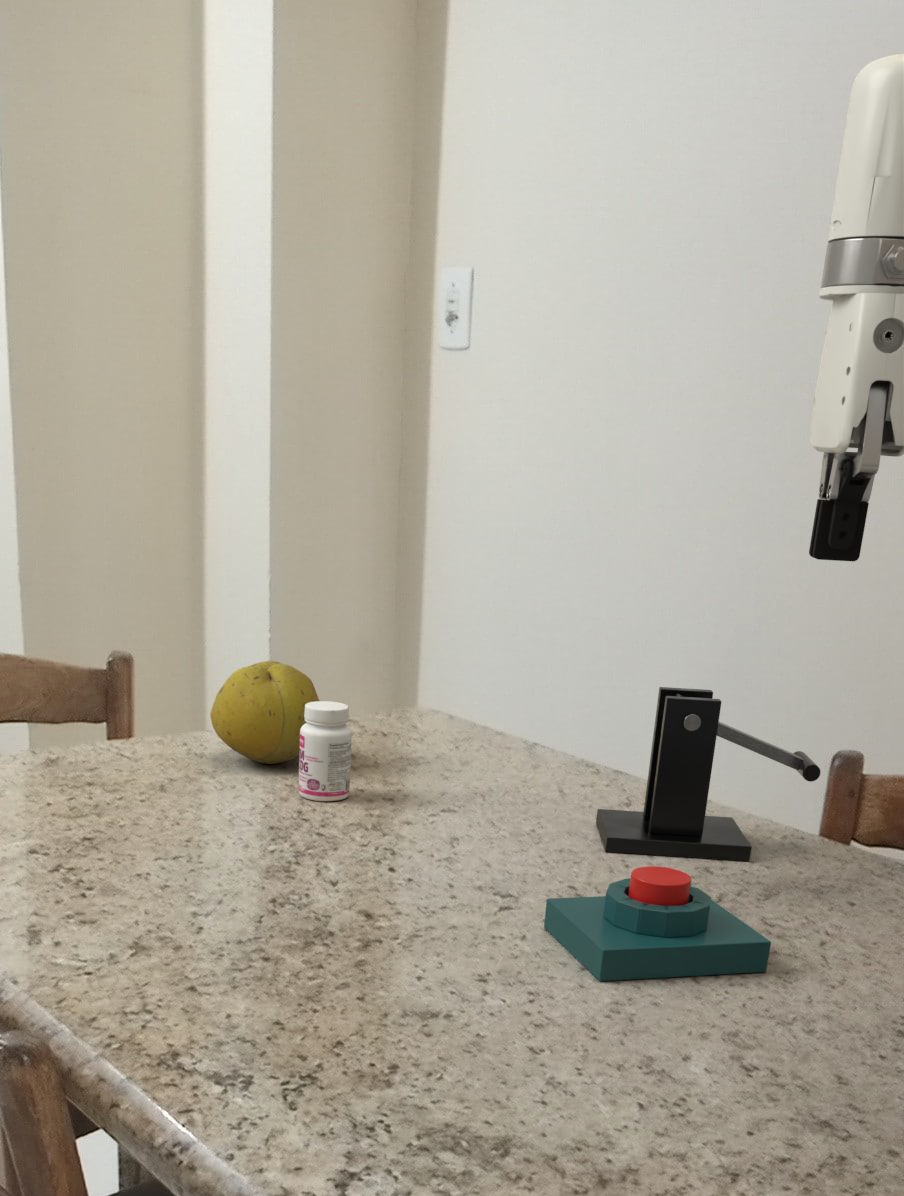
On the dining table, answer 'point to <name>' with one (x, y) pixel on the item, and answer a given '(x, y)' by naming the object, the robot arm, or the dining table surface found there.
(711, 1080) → the dining table surface
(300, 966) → the dining table surface
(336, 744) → the pill bottle
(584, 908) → the button block
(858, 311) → the robot arm
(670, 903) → the stop button
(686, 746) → the switch bracket
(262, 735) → the fruit
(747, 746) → the switch lever
